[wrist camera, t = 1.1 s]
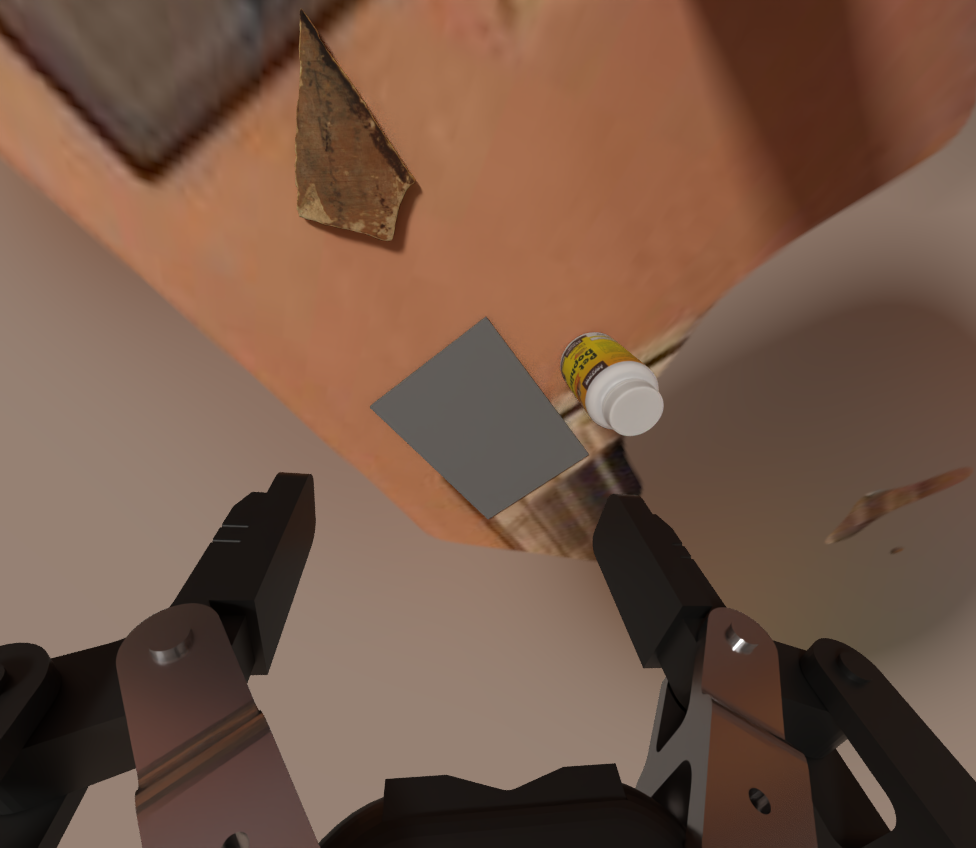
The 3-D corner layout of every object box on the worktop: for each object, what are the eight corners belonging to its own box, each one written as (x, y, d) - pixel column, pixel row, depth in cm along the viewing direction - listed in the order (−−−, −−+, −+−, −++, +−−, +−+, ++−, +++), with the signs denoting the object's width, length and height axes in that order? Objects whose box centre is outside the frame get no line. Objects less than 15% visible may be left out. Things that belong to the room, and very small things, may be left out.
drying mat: (486, 316, 34) (486, 317, 33) (587, 452, 42) (588, 454, 42) (370, 405, 36) (369, 407, 36) (487, 516, 45) (488, 519, 44)
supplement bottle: (571, 323, 35) (620, 367, 26) (627, 338, 36) (690, 385, 28) (549, 380, 38) (585, 438, 29) (601, 393, 39) (652, 452, 30)
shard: (306, 17, 24) (298, 5, 23) (433, 64, 26) (434, 56, 24) (298, 215, 29) (291, 216, 27) (405, 244, 31) (404, 246, 29)
